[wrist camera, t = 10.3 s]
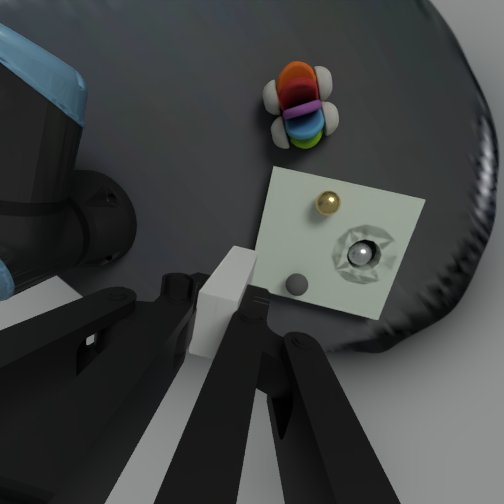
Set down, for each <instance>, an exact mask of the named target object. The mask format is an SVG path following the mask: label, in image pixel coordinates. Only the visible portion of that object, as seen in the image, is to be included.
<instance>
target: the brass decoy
mask: <svg viewBox="0 0 504 504" xmlns="http://www.w3.org/2000/svg"><path fill="white" fill-rule="evenodd" d="M315 206H316V209H317V211H318V212H319V213H320V214H322V215H325V216H330V215H333V214H335V213H336V212H337V211H338V210H339V208H340V206H341V199H340V197H339V195H338V194H337V193H335V192H334V191H324V192H322V193H320V194H319V195H318V197H317V198H316V201H315Z"/></svg>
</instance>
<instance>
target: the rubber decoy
mask: <svg viewBox="0 0 504 504" xmlns="http://www.w3.org/2000/svg"><path fill="white" fill-rule="evenodd" d="M285 285H286V289H287V291H288V292H289V293H290V294H291V295H294V296H300V295H303V294H304V293H305V292H306V291H307V289H308V281H307V279H306V277H305V276H303V275H302V274H298V273H295V274H292V275H290V276H289V277H288V278H287V280H286V284H285Z"/></svg>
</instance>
